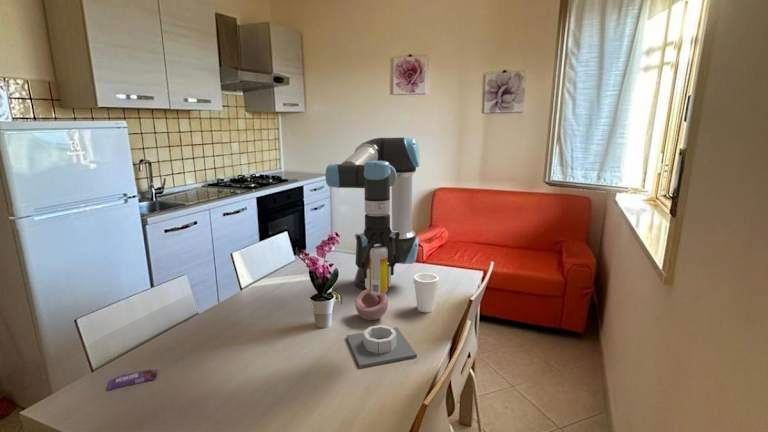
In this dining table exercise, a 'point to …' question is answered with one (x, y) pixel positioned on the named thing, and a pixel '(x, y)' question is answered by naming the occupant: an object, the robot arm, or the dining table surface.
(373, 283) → the beer can
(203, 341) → the dining table surface
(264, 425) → the dining table surface
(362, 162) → the robot arm
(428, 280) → the foam cup
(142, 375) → the snack package
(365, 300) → the mortar and pestle
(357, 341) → the socket
